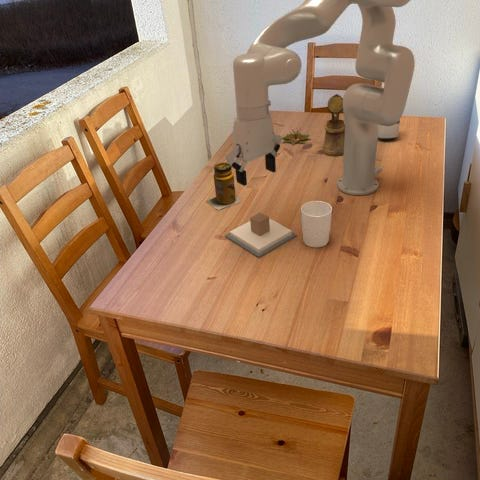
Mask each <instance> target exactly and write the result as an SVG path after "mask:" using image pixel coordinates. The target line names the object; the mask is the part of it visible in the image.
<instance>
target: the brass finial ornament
mask: <svg viewBox="0 0 480 480" xmlns="http://www.w3.org/2000/svg"><path fill="white" fill-rule="evenodd" d="M327 110H328V112H329V113H330V114H331V119H328V120H327V121H326V124H325V127H324V130H325V134H324V135H325V136H324V140H323V144H322V149H321V151H322V153H323V154H324V155H326V156H329V157H330V156H331V157H340V156H344V139H345V120H344V119H339V118H340V113H342V112H343V96H341V95H339V94H338V93H336V94H334V95H333V96H331V97H330V98H329V99H328V101H327Z"/></svg>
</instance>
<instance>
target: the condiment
mask: <svg viewBox="0 0 480 480" xmlns="http://www.w3.org/2000/svg"><path fill="white" fill-rule="evenodd" d="M232 168H233V167H231V166H230V165H229V163H228V162H220V163H219V162H218V163H216V164H215V165H214V167H213V169H214V171H213V180H214V182H213V183H214V190H215V192H214V193H215V197H213V198H209V199H207V200H205V201H206V202H207V203H208V204H209V205H210V206H212V207H213V208H215V209H216V210H217V211H220V210H222V209H224V208H227V207H230V206H233V205H236V204H238V203H240V202H242V200H240V199H239V198H238V197H237V196H236V187H235V177H234V176H235V175H234V173H233V169H232Z"/></svg>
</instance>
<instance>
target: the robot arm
mask: <svg viewBox="0 0 480 480" xmlns="http://www.w3.org/2000/svg"><path fill="white" fill-rule="evenodd" d="M410 1H411V0H304V1H303V3H302V4H300V5H299V6H298V7H296V8H294V9H292V10H290V11H288V12H287V13H285V14H284V15H282V16H280V17H279V18H277V19H276V20H274V21H273V22H271V23H269V25H267V26H266V27H265V28H264V29H263V30H262V31H261V32H260V33H259V35H258V36H257V37H256V38H254V39H255V40H254V41H253V42H252V43H251V44H250V46H249V48H248V49H247V51H246V53H243V54H239V55H237V56H236V57H235V58H234V59H233V63H232V70H233V81H234V82H233V83H234V94H235V106H236V107H235V108H236V118H234V120H233V125H232V126H233V127H232V149H231V150H230V151H229V153H227V155H226V156H225V160H226V161H227V162H226V163H229V165H230V166H231V167H232V168H233V169H235V179H236V182H237V184H239V185H242V186H244V187H245V186H247V184H248V181H247V170H245V168H246V166H247V164H248V163H249V162H251V161H254V160H256V159H259V158H261V157H264V161H265V170H266V171H269V172H271V173H276V171H277V168H276V164H277V163H276V158H277V157H278V152H279V150H280V149H281V143H282V142H283V140H282V139H283V136H282V135H280V134H276V133H275V131H274V124H273V123H274V122H273V119H272V114H271V113H270V106H271V105H272V103H271V100H270V99H269V87H271V86H277V85H278V86H279V85H285V84H289V83H292V82H293V81H295V80H296V79H297V78H298V76H299V75H300V73H301V71H302V67H303V65H302V60H301V57H300V56H299V54H298V53H297V52H296V51H294V50H292V49H289V48H288V47H289V46H291V45H293V44H296V43H298V42H301V41H306V40H310V39H313V38H316V37H319V36H322V35H325V34H326V33H327V32H328V31H329V30H330V29H331V28H332V26H333V25H334V24H335V23H336V21H337V20H338V19H339V18H340V17H341V16H342V14H343V13H344V12H345V10H346V9H347V8H348V7H349V6H351V5H352V4H354V5H357V6H358V8H359V11H360V13H361V19H362V23H361V31H360V35H359V36H360V38H359V42H358V49H357V53H356V60H355V72H356V74H357V76H359V77H361V78H363V79H366V80H370V81H371V80H372V81H374V82H380V83H383V87H381V86H378V85H374V84H370V83H366V82H365V83H363V82H359V83H354V84H351V85H350V86H348V88H347V89H345V92H344V94H343V96H342V98H343V111H342V112H343V118H344V124H345V139H344V155H343V159H342V162H343V164H342V176H340V178H339V179H338V180H337V183H336V186H337V188H338V189H339V191H341V192H343V193H345V194H349V195H353V196H366V195H369V194H372V193H374V192H376V191H378V189H379V184H380V183H379V181H378V179H377V178H376V176H377V174H380V173H381V172H382V171H383V168H382V166H380V165H378V166H376V159H377V147H378V141H379V140H378V129H377V124H379V125H382V126H393V125H395V124H396V123H397V122H398V121H399V120H400V121H401V118H402V116H403V115H404V111H405V108H406V105H407V100H408V96H409V92H410V88H411V84H412V80H413V76H414V71H415V66H416V65H415V61H416V60H415V55H414V53H413V52H412V50H411V49H410V48H408V47H406V46H403V45H398V44H394V36H395V31H396V22H397V21H396V20H397V19H396V16H395V15H396V13H395V11H394V8H401V7H404V6H406V5H407V4H408V3H410Z"/></svg>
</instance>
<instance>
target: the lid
mask: <svg viewBox="0 0 480 480" xmlns="http://www.w3.org/2000/svg"><path fill="white" fill-rule="evenodd" d="M292 232H293V230H291V229H290V228H288V227H286V226H284V225H283V224H281V223H278V222H276V221H275V220H273V219H271V218H270V217H269V216H268V215H267V214H264V213H263V212H258V213H256V214H254V215H252V216H250V218H249V221H248V222H247V221H246V222H245V223H244V224H242V225H240V226H238V227H236V228H234V229H232V230H230V231H229V233H230V236H232V237H234V238H235V239H237V240H239V241H240V242H242V243H243V244H245V245H247V246H248V247H250V248H251V249H253V250H255V251H256V252H258V253H260V252H262V251H264V250H265V249H267V248H269V247H271V246H273V245H274V244H276V243H278V242H280V241H281V240H283V239H285V238H287V237H288V236H290V235H292Z"/></svg>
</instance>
